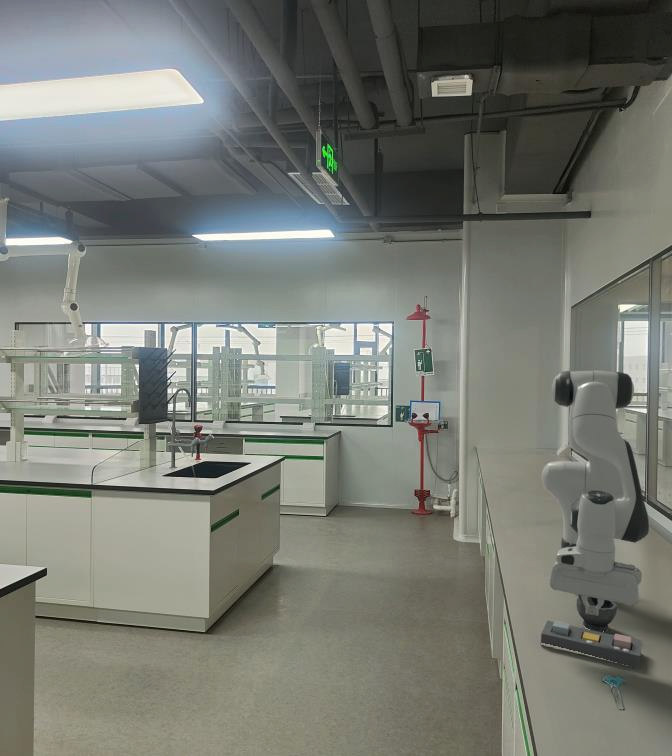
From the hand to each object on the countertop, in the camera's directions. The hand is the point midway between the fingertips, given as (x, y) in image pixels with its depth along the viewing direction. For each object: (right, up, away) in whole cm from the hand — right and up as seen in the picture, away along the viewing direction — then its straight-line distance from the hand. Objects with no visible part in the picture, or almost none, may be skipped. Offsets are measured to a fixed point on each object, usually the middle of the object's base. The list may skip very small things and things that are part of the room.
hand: (592, 613), depth 155 cm
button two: (+6, -7, -4) cm, 10 cm away
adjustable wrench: (-3, -10, -20) cm, 23 cm away
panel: (0, -9, 0) cm, 9 cm away
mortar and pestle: (+5, -9, +13) cm, 16 cm away
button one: (0, -8, 0) cm, 8 cm away
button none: (-7, -6, +3) cm, 9 cm away
